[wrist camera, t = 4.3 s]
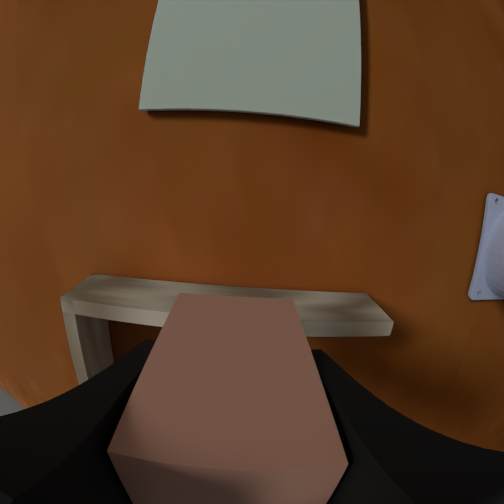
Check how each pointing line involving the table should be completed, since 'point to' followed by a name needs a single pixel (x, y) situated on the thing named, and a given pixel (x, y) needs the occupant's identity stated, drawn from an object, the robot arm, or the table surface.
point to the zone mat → (256, 58)
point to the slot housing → (165, 293)
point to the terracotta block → (229, 410)
